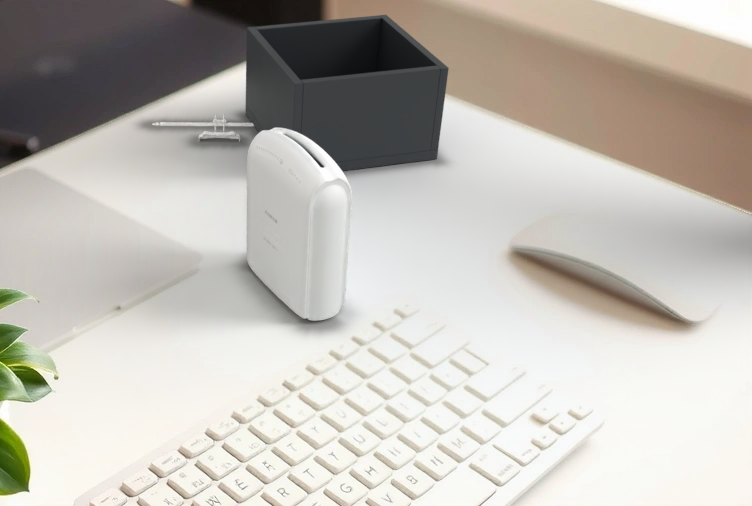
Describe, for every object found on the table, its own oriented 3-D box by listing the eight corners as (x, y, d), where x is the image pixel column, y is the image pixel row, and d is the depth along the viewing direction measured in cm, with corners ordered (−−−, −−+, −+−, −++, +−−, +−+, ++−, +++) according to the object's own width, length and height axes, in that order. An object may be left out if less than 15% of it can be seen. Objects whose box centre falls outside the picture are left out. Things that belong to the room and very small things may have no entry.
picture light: (289, 128, 109) (290, 108, 107) (291, 146, 105) (292, 126, 104) (150, 127, 108) (149, 107, 107) (147, 146, 105) (146, 125, 104)
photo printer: (238, 263, 87) (239, 119, 79) (285, 251, 88) (290, 108, 81) (302, 329, 79) (310, 177, 72) (352, 314, 81) (364, 164, 74)
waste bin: (378, 99, 113) (386, 14, 108) (437, 159, 102) (449, 67, 97) (245, 114, 110) (246, 27, 105) (290, 177, 99) (294, 84, 93)
